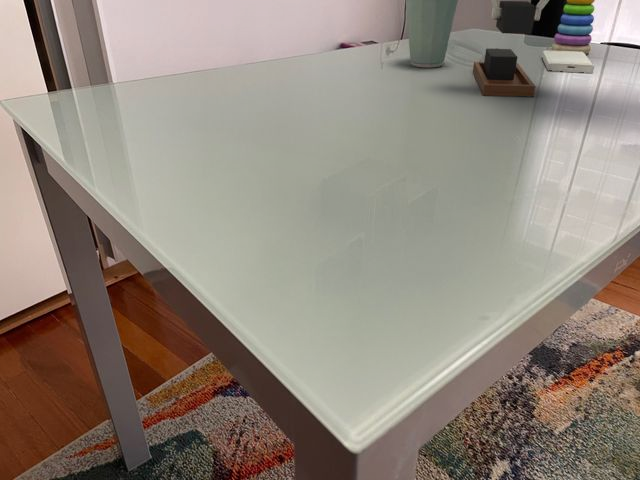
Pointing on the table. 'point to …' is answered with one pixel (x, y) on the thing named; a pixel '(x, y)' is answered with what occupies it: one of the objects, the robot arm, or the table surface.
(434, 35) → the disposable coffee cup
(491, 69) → the black rectangular block
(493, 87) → the tray
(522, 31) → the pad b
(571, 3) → the stacking toy
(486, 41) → the table surface
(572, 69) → the hard drive
